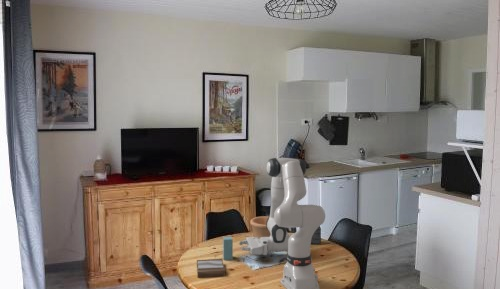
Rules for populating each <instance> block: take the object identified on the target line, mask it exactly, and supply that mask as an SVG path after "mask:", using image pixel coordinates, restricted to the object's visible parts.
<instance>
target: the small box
mask: <svg viewBox="0 0 500 289" xmlns="http://www.w3.org/2000/svg"><path fill="white" fill-rule="evenodd" d="M321 227H322V226H321V225H320V226H319V227H318V228H317V229H316V231H315V232H314V234H313V236H312V239H311V245H322V228H321Z"/></svg>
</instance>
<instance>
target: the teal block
mask: <svg viewBox="0 0 500 289" xmlns="http://www.w3.org/2000/svg"><path fill="white" fill-rule="evenodd" d="M233 244H234V243H233V237H232V236H223V237H222V260H223V261H233V260H234V259H233V257H234V256H233V254H234V252H233V250H234V249H233Z"/></svg>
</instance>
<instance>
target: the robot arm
mask: <svg viewBox="0 0 500 289" xmlns="http://www.w3.org/2000/svg"><path fill="white" fill-rule="evenodd" d="M306 171H307V166H306V162H305V161H304V160H303V159H301V158H291V157H288V158H287V157H277V158H276V157H272V158H270V159H268V161H267V162H266V172H267V175H268V176H269V177H271V182H270V207H269V208H270V209H269V214H268V216H269V217H268V219H267V221H266V228H267V230H268V231H269V232H270V237H260V239H259V238H258V237H254V236H247V237H245V238H246V239H244V240H242V241H241V240H239V241H238V242H239V243H238V244H239V246H241V248H240V249H241V251H242V252H244V251H245V252H250V255H255V256H256V255H257V256H258V255H263V256H267V255H268V253H271V252H275V253H279V252H280V253H282V252H286V251H287V253H286V263H285V264H284V265H283V273H282V275H283V276H282V277H283V278H281V279H280V280H279V282H280V284H281V285H282V286H283V287H284V288H286V289H320V288H321V287H320V285H319V282H318V279H319V278H318V277H319V275H318V273H315V272H316V268H314V266H313V263H312V254H311V245H312V244H311V239H312V236H313V234H314V232H315V231H316V229H317V228H318V227H319V226H320V227H321V226H322V225H323V224H324V223H325V219H326V212H325V210H324V208H323V207H322V206H321V205H318V204H298V202H299V201H301V200H302V199H304V198H305V196H306V195H307V186H306V180H305V177H304V176H305V174H306ZM289 228H291V229H294V228H298V229H297V231H296V232H294V233H292V234H291V235H289V233H288V231H287V229H289ZM242 245H246V246H242Z"/></svg>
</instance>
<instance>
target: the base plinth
mask: <svg viewBox="0 0 500 289" xmlns="http://www.w3.org/2000/svg"><path fill="white" fill-rule="evenodd" d="M196 272H197V275H196V276H197V278H208V277H209V278H211V277H226V270H225V265H224V259H223V258H213V259H211V258H208V259H197V260H196Z"/></svg>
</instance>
